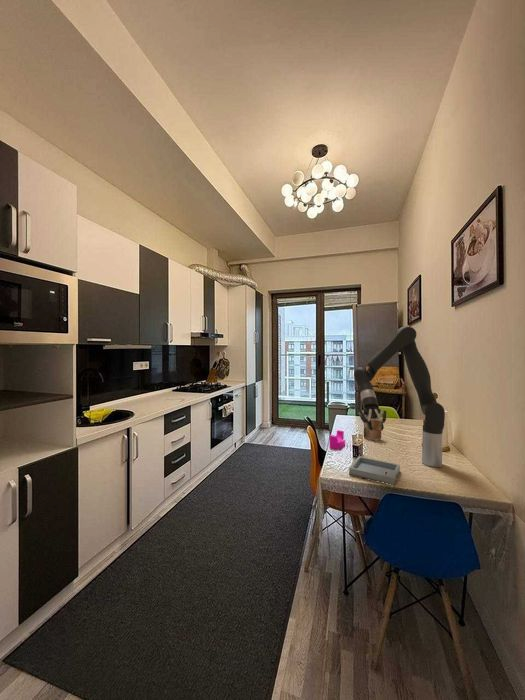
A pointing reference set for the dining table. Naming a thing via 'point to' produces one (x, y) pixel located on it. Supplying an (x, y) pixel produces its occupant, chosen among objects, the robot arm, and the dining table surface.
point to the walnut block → (375, 428)
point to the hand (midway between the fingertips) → (376, 429)
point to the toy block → (337, 440)
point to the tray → (375, 470)
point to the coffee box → (367, 431)
